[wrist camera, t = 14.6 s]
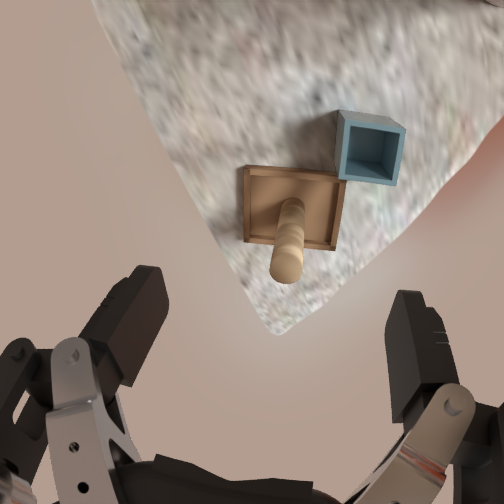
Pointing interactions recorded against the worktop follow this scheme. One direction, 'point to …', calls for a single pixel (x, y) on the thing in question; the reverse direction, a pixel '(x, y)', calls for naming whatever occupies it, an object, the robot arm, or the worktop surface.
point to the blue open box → (368, 148)
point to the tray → (297, 186)
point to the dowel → (289, 243)
